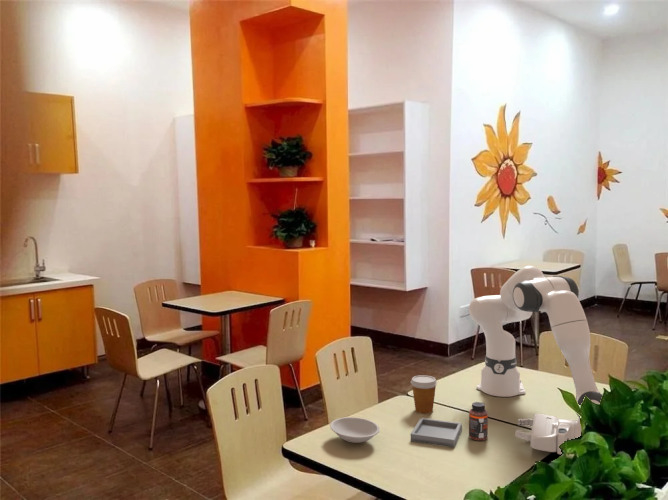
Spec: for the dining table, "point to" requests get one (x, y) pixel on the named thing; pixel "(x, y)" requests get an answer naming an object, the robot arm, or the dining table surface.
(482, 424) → the supplement bottle
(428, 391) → the disposable coffee cup
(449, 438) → the tray
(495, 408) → the dining table surface
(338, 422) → the dish
